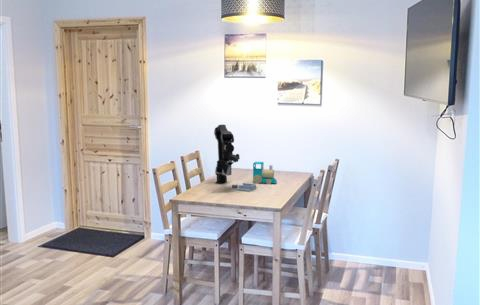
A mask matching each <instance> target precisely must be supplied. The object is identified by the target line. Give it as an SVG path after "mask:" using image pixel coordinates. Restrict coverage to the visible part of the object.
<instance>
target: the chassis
mask: <svg viewBox="0 0 480 305" xmlns="http://www.w3.org/2000/svg"><path fill="white" fill-rule="evenodd" d="M256 189H257V184H256V183H247V182H243V183H242V184H231V187H230V188H229V190H233V191H239V192H240V191H241V192H248V193H249V192H250V193H251V192H252V191H255V190H256Z"/></svg>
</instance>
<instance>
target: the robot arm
mask: <svg viewBox="0 0 480 305" xmlns="http://www.w3.org/2000/svg"><path fill="white" fill-rule="evenodd" d="M213 134H214V135H213V136H214V137H215V139H216V141H217V156H218V159H217V161H216V166H215V170H214V174H215V175H216V182H215V184H222V185H223V184H226V183H227V182H228V175H222V169H223V171H224V173H225V174H226V173H227V166H228V165H230V166H231V167H232V165H233V164H234V163H237V162H239V160H240V154H239V153H236V154H234V153H233V152H234V151H235V146H234V145H233V144H232V143H235V136H234V134H233V133H232V131H229V130H228V129H227V125H226V124H218V125H217V126H216V127H215V128H214V132H213Z"/></svg>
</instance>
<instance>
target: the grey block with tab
mask: <svg viewBox="0 0 480 305" xmlns="http://www.w3.org/2000/svg"><path fill="white" fill-rule="evenodd" d="M222 175H226V176H227V177H229V176H232V165H231V166H230V165H228V166H227V173H226V174H225V173H224V171H223V169H222Z"/></svg>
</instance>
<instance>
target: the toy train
mask: <svg viewBox="0 0 480 305" xmlns="http://www.w3.org/2000/svg"><path fill="white" fill-rule="evenodd" d="M256 165H260V168H257V166H256ZM268 166H269V169H267V168H264V161H254V162H253V164H252V167H253V168H252V182H253V184H256V185H258V184H261V183H264V184H267V185H271V184H277V182H278V180H277V179H276V178H275V169H273V166H274V165H273V164H270V165H268Z"/></svg>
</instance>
